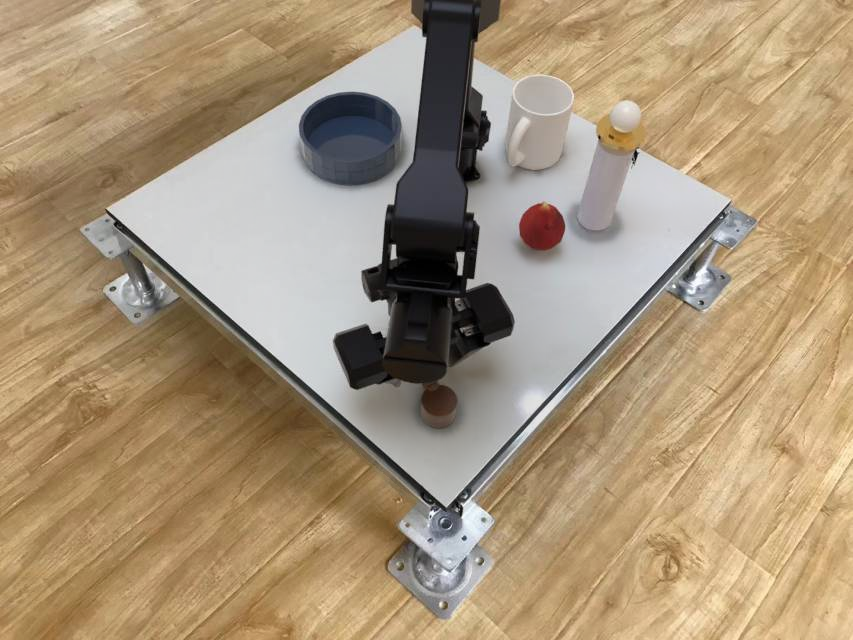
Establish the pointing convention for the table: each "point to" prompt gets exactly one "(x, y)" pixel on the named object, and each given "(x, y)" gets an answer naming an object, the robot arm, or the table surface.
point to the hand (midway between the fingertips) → (422, 373)
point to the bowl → (351, 138)
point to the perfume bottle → (611, 163)
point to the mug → (538, 121)
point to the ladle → (438, 405)
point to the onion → (542, 226)
